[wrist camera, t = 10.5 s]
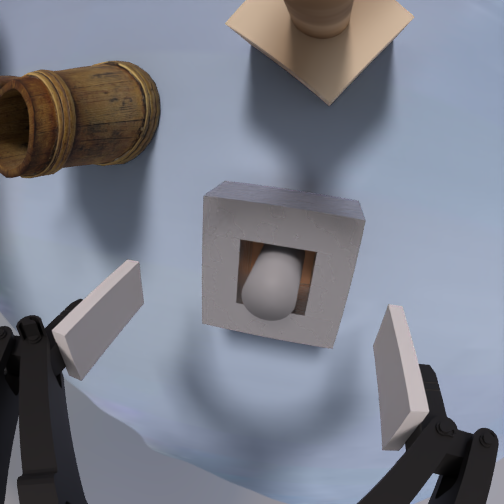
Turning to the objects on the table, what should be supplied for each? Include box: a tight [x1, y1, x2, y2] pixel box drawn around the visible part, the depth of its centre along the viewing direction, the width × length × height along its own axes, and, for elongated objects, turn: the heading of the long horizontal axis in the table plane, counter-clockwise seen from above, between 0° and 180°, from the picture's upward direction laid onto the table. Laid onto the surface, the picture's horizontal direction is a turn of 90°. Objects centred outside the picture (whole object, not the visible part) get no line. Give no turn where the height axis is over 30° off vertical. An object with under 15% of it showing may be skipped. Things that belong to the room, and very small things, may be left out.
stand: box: [225, 0, 414, 106], centre depth 13 cm, size 7×7×11 cm
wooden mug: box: [0, 61, 160, 178], centre depth 15 cm, size 9×14×18 cm, turn 46°
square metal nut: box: [202, 181, 365, 349], centre depth 21 cm, size 9×9×4 cm
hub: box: [242, 241, 315, 321], centre depth 21 cm, size 7×7×8 cm
